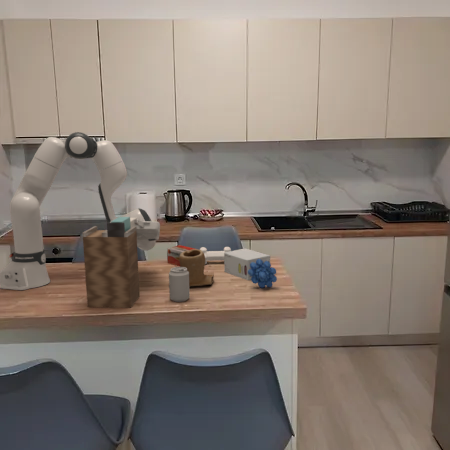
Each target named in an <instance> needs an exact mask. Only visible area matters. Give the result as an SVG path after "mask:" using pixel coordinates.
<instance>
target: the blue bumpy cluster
mask: <svg viewBox="0 0 450 450" xmlns="http://www.w3.org/2000/svg"><path fill="white" fill-rule="evenodd" d="M250 268H251V269H249V270H248V274H249V275H250V276H252V277H251V280H250V281H251V282H252V284H254V285H257V286H258V287H259V288H261V289H264V288H265V287H267V288H272V287H273V284H274V283H276V282H277V281H278V278H277V276H276V275H277V274H276V273H277V269H276V268H275V267H272V263H271V261H270V262H268V261H265V262H264V263H263V261H262V260H261V259H258V260H256V263H254V262H252V263H250Z"/></svg>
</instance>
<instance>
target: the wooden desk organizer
mask: <svg viewBox="0 0 450 450" xmlns="http://www.w3.org/2000/svg"><path fill="white" fill-rule="evenodd" d="M82 245H83V246H82V248H83V257H84V258H83V260H84V273H85V275H84V276H85V286H86V287H85V289H86V300H87V301H86V303H87V304H86V305H87V308H122V309H123V308H124V309H129V308H132V307H133V306H134V305H135V304H136V302H137V300H138V299H139V298H140V280H139V279H140V277H139V276H140V275H139V260H138V259H139V258H138V247H137V232H136V226H134V227H132V228H131V229H129V230H128V231H126V232H125V224H124V223H107V222H106V229H103V230H102V229H98V226H97V225H94V226H92V227H90V228H89V229H87V230H84V231H83V232H82Z"/></svg>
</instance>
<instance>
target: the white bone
mask: <svg viewBox="0 0 450 450" xmlns="http://www.w3.org/2000/svg"><path fill="white" fill-rule="evenodd" d="M199 250H202V251H203V253H204V255H205V265H207V264H208V261H210V262H211V261H212V262H213V261H224V253H225V252H229V251H232V249H231V247H229V246H225V247H224V248H223V250H209V251H208V249H207V248H206V247H204V246H202V247H200V248H199Z"/></svg>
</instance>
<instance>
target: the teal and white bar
mask: <svg viewBox="0 0 450 450" xmlns="http://www.w3.org/2000/svg"><path fill="white" fill-rule="evenodd" d="M118 217H119V218H117V219H115V220H113V221H111V223H124V224H125V232H126V231H128V230H129V229H131V228H132V227H133V226H135V224H134V222H135V221H134V220H135V219H137V218H130V217H120V216H118Z"/></svg>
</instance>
